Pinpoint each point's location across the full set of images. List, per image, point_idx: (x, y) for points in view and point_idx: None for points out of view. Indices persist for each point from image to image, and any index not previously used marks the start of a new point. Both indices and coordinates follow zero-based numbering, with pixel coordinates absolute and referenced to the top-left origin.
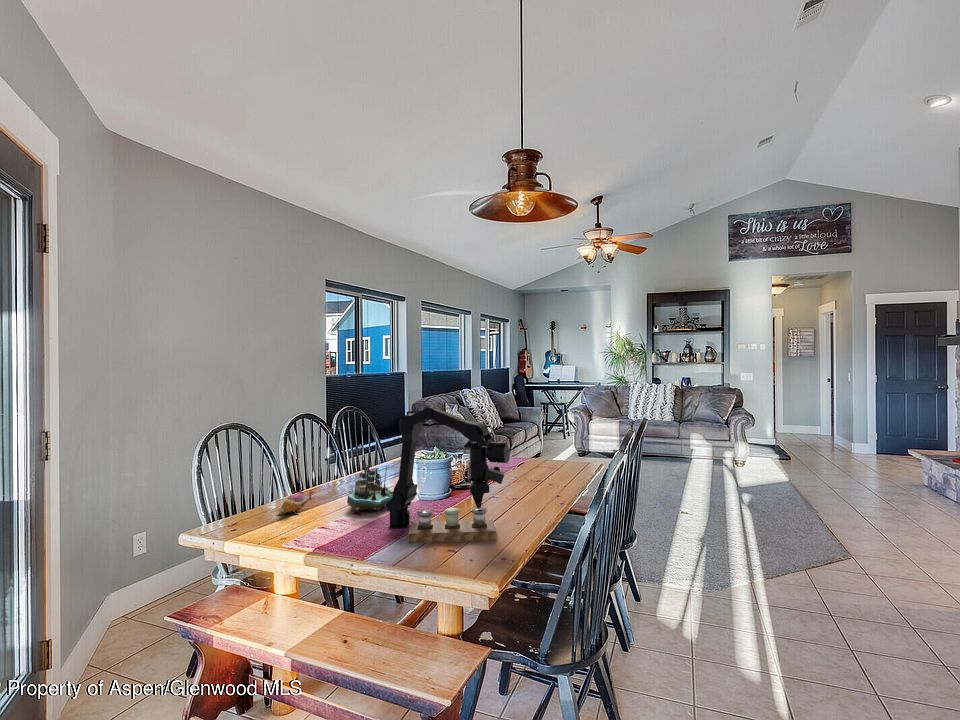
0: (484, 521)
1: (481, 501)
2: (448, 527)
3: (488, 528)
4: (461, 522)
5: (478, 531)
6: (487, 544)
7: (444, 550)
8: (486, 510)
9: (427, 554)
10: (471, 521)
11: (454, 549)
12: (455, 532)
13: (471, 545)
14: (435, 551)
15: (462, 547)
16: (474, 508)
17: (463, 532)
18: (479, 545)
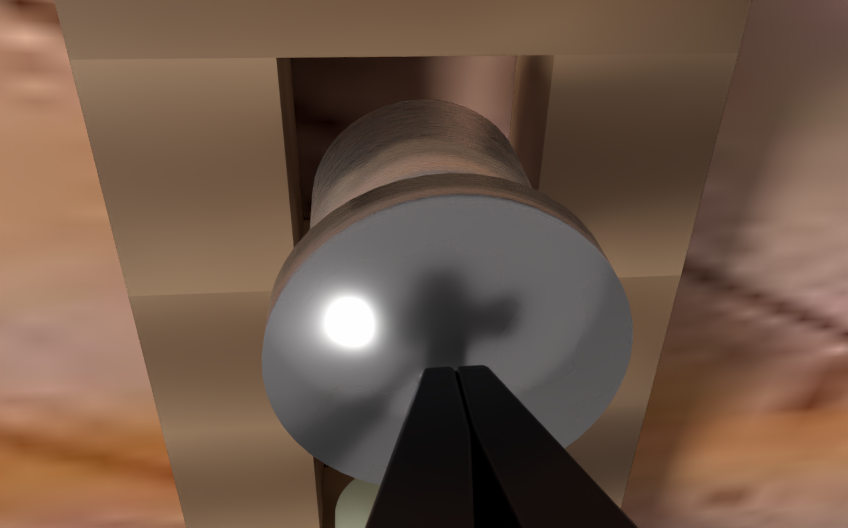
0: (496, 139)
1: (605, 499)
2: (319, 493)
3: (585, 36)
4: (239, 411)
5: (691, 198)
6: (809, 27)
7: (800, 434)
8: (513, 200)
9: (833, 524)
10: (183, 295)
11: (812, 365)
12: (636, 444)
13: (766, 220)
14: (793, 487)
15: (789, 303)
16: (374, 451)
17: (654, 369)
18: (803, 132)
